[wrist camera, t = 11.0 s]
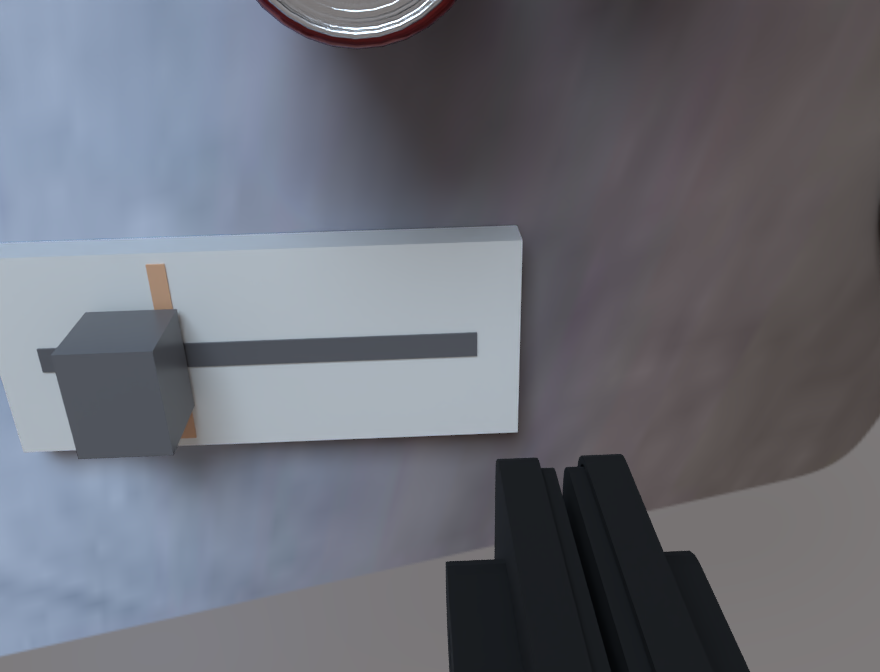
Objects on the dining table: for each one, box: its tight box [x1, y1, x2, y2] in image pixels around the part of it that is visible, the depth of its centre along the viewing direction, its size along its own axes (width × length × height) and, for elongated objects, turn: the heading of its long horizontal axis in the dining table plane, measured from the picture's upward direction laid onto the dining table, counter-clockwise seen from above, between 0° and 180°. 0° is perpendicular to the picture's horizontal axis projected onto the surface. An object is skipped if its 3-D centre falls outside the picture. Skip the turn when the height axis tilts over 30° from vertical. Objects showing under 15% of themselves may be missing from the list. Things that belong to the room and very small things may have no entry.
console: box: [0, 225, 523, 452], centre depth 39 cm, size 24×10×2 cm, turn 91°
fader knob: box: [51, 309, 195, 459], centre depth 36 cm, size 4×5×4 cm
